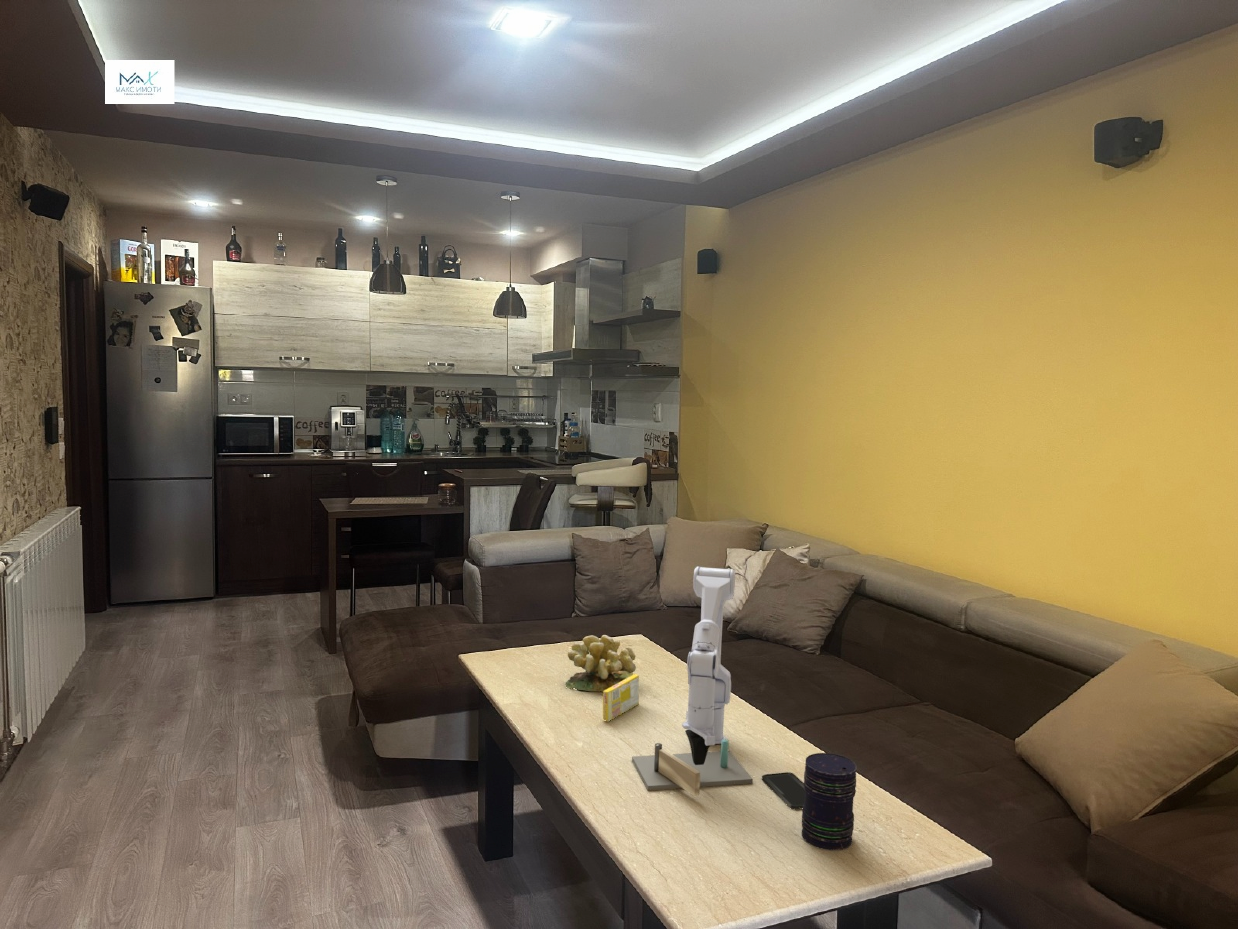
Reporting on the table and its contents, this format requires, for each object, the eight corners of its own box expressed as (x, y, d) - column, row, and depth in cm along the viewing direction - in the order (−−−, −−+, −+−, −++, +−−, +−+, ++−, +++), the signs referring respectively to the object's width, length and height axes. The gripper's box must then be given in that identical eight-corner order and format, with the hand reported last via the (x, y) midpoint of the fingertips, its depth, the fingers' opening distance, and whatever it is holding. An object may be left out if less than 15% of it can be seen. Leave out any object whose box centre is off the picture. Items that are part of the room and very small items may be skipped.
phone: (791, 771, 191) (825, 803, 177) (791, 776, 191) (824, 808, 177) (759, 775, 189) (791, 806, 174) (759, 780, 189) (791, 812, 175)
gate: (662, 770, 188) (663, 748, 187) (699, 795, 177) (700, 772, 176) (658, 771, 187) (659, 749, 187) (694, 796, 176) (695, 773, 176)
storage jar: (790, 836, 164) (794, 762, 163) (818, 819, 171) (822, 748, 170) (835, 857, 157) (840, 779, 156) (862, 839, 164) (866, 765, 163)
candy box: (632, 702, 233) (633, 673, 233) (639, 704, 232) (640, 675, 231) (601, 721, 219) (602, 690, 219) (608, 723, 218) (609, 691, 218)
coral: (552, 681, 254) (548, 635, 251) (621, 664, 262) (618, 619, 259) (573, 708, 237) (569, 659, 234) (646, 689, 245) (643, 641, 242)
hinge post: (653, 773, 189) (654, 743, 189) (659, 773, 190) (661, 743, 189) (654, 776, 188) (656, 746, 187) (661, 776, 188) (662, 746, 188)
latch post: (719, 769, 193) (720, 739, 192) (725, 769, 193) (727, 739, 192) (721, 772, 191) (722, 742, 191) (728, 772, 191) (729, 742, 191)
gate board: (631, 760, 196) (632, 756, 196) (729, 754, 201) (729, 750, 201) (647, 790, 181) (647, 786, 181) (752, 783, 186) (752, 779, 186)
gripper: (674, 693, 191) (672, 750, 192) (693, 717, 177) (691, 779, 178) (704, 691, 193) (701, 749, 194) (725, 716, 179) (722, 777, 180)
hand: (698, 763), depth 186 cm, fingers closed
